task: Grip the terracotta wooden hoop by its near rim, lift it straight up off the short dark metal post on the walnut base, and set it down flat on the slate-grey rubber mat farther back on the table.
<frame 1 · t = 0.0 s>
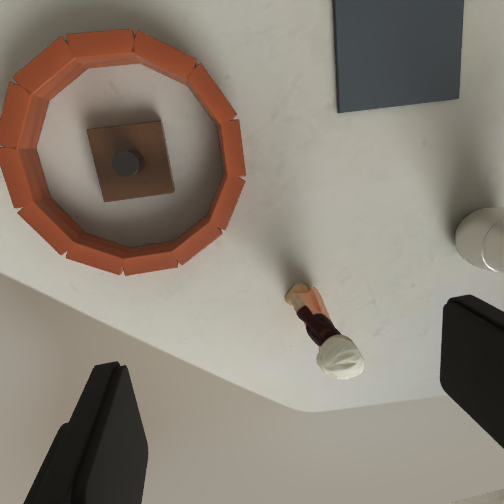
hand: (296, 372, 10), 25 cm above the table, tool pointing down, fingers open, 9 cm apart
hoop: (134, 161, 31), on the table
post: (134, 161, 31), on the table
grandmother figurine: (300, 297, 38), on the table
plastic bottle: (472, 232, 39), on the table
mat: (398, 22, 32), on the table
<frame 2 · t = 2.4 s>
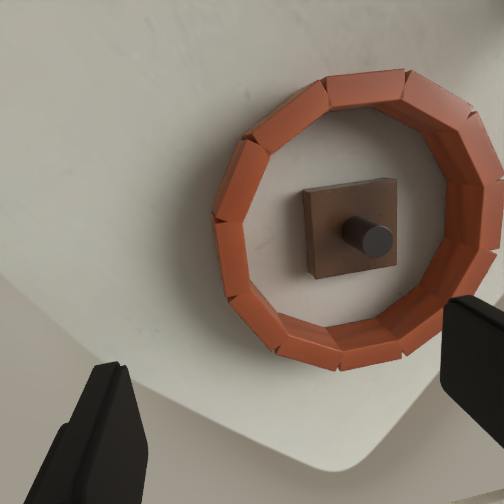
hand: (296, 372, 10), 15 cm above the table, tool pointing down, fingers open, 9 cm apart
hoop: (346, 226, 25), on the table
post: (346, 226, 25), on the table
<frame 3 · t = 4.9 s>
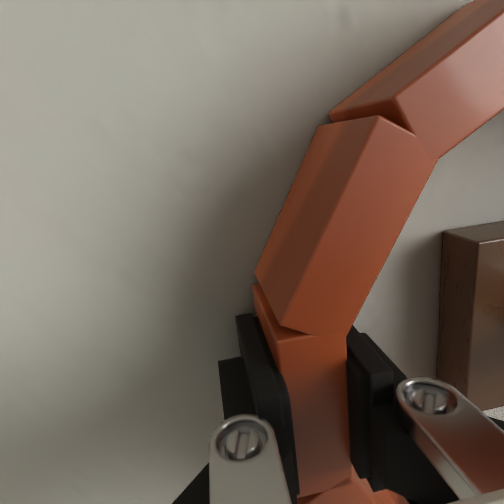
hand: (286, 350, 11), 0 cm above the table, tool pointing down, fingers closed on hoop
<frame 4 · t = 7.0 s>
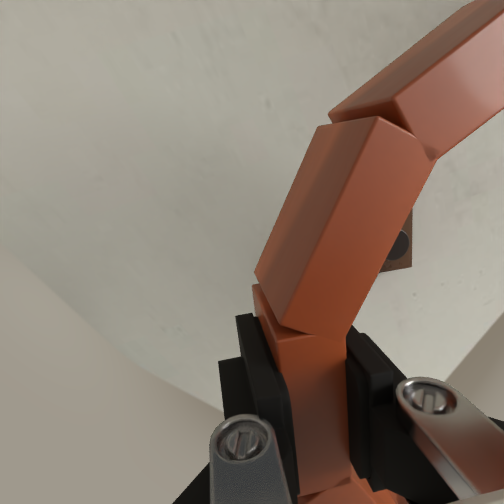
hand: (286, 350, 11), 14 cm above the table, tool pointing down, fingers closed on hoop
post: (362, 229, 26), on the table
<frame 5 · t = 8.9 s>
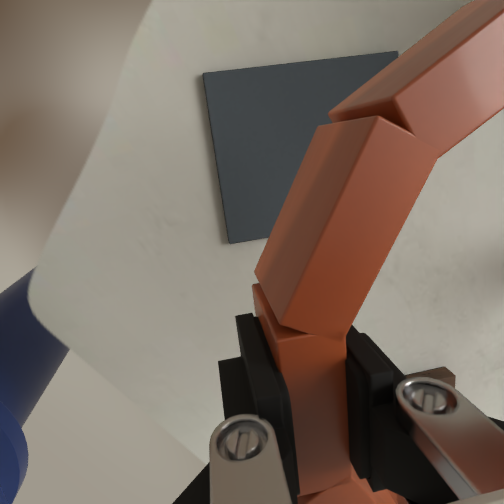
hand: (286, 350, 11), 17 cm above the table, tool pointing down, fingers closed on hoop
post: (416, 398, 35), on the table
mat: (308, 151, 27), on the table
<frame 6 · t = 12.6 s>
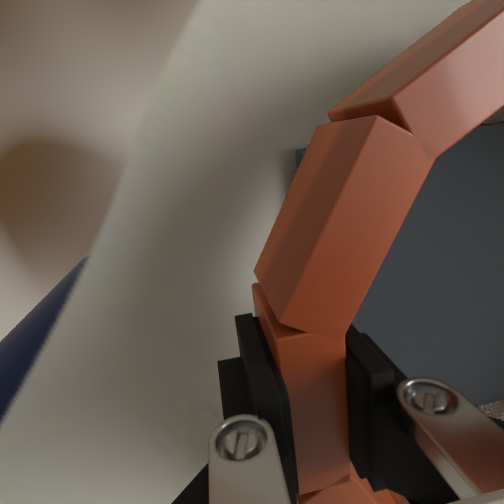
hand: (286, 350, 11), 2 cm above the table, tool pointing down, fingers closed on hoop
mat: (472, 279, 15), on the table
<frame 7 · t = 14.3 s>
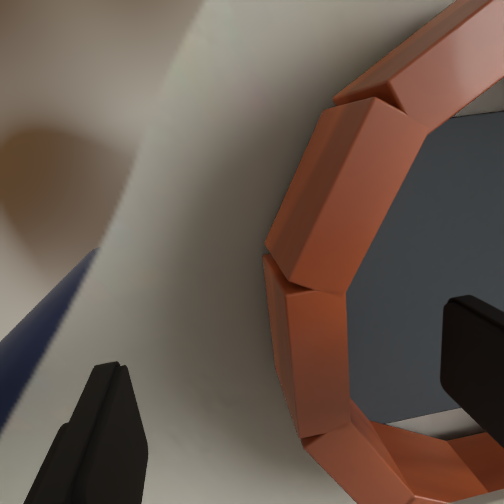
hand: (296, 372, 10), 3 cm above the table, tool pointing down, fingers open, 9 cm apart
mat: (492, 271, 14), on the table
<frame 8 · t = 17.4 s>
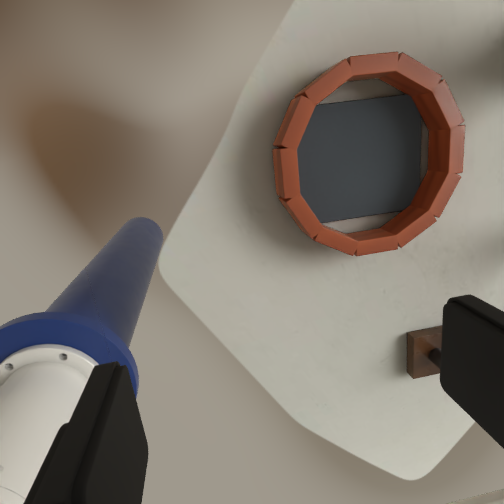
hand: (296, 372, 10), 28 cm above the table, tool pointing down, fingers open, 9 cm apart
hoop: (360, 160, 37), resting on mat
post: (428, 348, 46), on the table
mat: (357, 161, 38), on the table
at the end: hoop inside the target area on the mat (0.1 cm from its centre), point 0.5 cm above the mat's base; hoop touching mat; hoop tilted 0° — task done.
